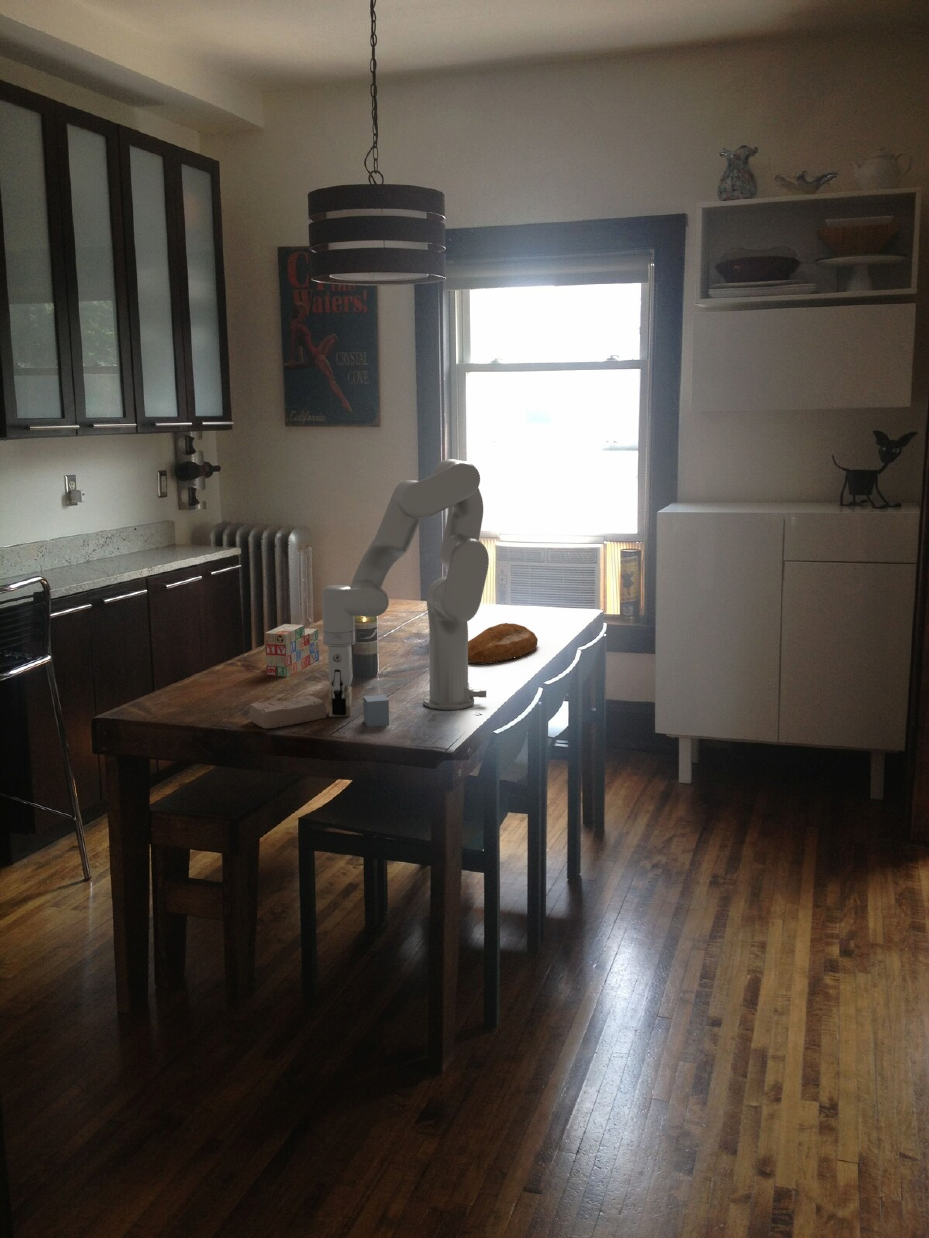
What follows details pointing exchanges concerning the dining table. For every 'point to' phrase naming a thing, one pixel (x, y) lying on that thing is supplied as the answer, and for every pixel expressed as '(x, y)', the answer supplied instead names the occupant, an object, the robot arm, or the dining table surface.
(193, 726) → the dining table surface
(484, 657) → the bread
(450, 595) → the robot arm
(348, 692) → the beech block
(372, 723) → the slate block
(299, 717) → the brick
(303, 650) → the stack of blocks
